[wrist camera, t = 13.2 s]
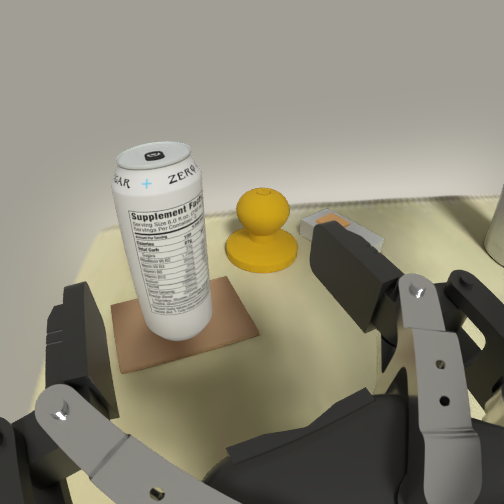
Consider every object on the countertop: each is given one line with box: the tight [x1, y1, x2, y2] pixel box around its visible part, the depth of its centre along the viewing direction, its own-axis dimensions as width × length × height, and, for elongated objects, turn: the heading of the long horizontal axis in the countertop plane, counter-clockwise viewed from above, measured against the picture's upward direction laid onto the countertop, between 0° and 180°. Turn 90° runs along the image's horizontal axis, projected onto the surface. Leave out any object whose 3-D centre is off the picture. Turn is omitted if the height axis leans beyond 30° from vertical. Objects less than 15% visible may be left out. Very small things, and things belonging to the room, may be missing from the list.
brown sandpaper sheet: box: [111, 276, 259, 374], centre depth 28 cm, size 12×8×1 cm, turn 113°
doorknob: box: [226, 188, 298, 273], centre depth 35 cm, size 8×8×8 cm
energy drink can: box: [111, 142, 212, 341], centre depth 24 cm, size 6×6×15 cm
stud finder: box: [300, 208, 384, 253], centre depth 38 cm, size 9×5×3 cm, turn 39°
